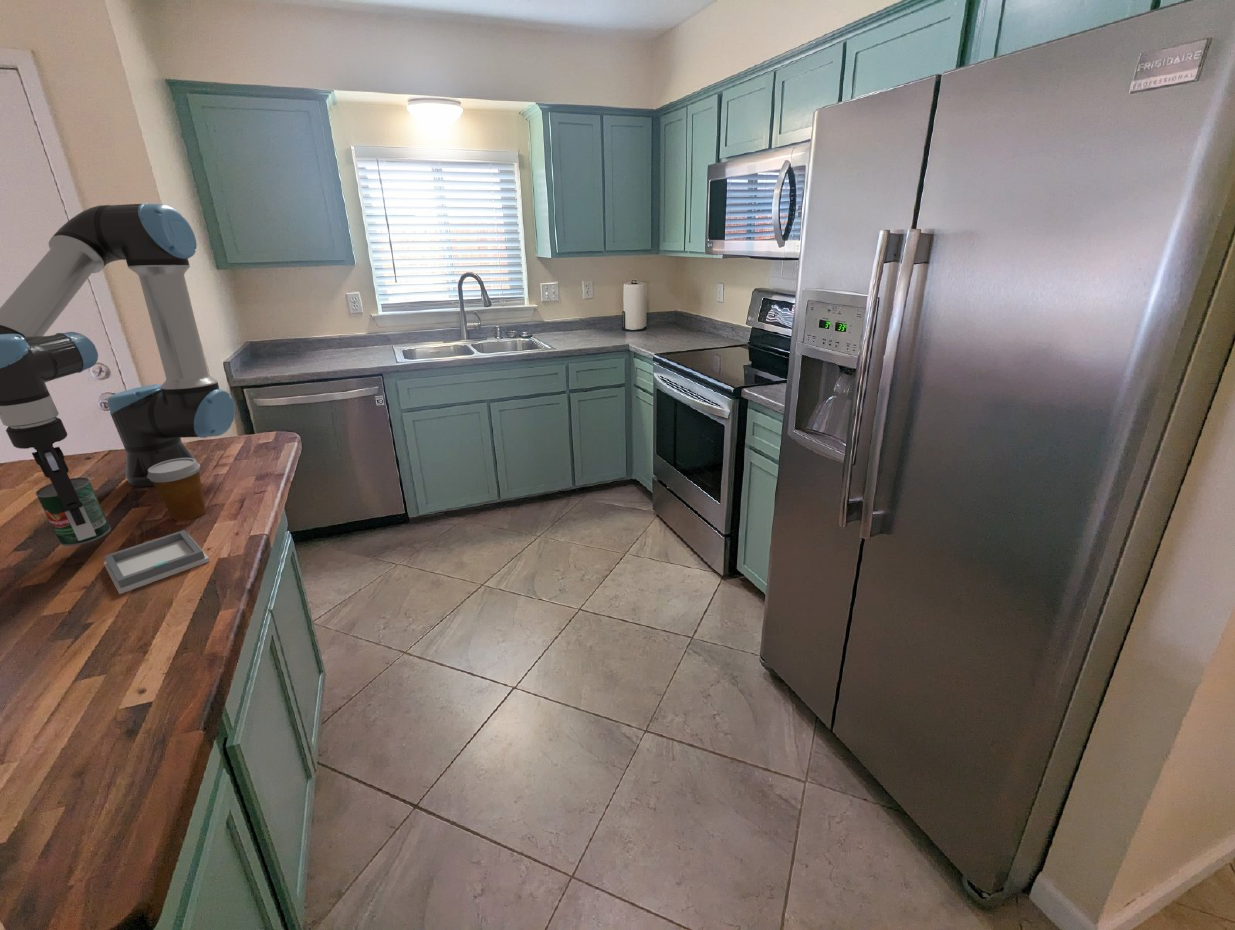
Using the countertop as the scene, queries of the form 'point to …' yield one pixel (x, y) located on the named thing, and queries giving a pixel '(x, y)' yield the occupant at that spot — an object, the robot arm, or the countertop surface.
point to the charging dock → (153, 561)
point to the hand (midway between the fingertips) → (83, 530)
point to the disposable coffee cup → (179, 487)
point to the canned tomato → (60, 520)
